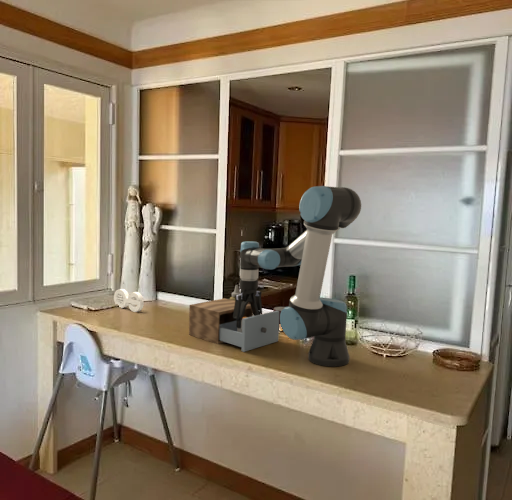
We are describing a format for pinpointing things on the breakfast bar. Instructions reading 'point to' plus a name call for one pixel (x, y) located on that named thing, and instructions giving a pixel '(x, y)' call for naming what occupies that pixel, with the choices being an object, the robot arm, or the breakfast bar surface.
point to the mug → (279, 311)
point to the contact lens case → (129, 300)
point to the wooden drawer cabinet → (212, 318)
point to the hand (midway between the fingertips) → (247, 333)
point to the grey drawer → (252, 331)
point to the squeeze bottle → (235, 293)
